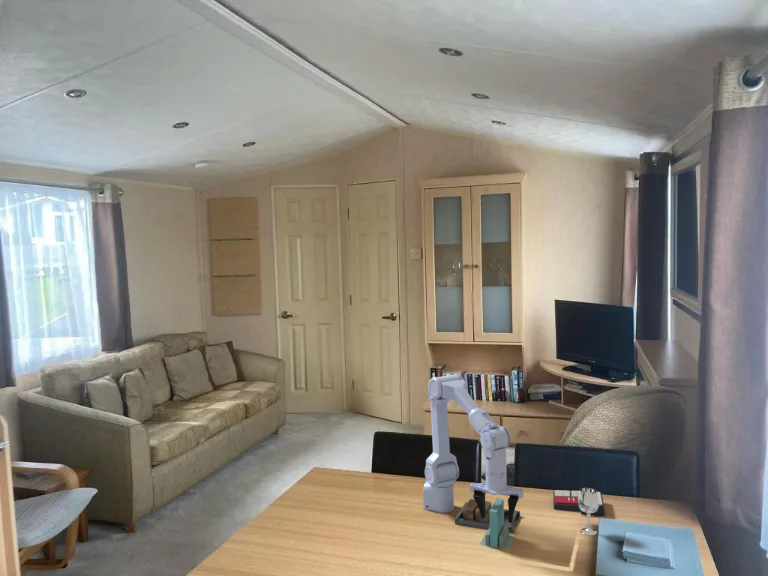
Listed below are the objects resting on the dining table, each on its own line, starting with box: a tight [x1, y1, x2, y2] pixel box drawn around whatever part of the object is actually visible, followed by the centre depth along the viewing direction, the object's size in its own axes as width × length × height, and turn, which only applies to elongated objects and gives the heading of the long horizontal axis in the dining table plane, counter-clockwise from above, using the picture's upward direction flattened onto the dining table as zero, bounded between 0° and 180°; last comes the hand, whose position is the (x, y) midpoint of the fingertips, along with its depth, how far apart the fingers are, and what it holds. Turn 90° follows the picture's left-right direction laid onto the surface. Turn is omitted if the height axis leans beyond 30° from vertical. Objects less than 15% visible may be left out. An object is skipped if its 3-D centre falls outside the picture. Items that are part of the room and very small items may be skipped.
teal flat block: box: [489, 498, 505, 549], centre depth 167 cm, size 2×9×10 cm, turn 157°
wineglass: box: [578, 487, 599, 536], centre depth 173 cm, size 6×6×12 cm
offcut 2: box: [475, 500, 493, 522], centre depth 181 cm, size 3×8×4 cm, turn 157°
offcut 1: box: [463, 498, 478, 520], centre depth 183 cm, size 3×8×4 cm, turn 157°
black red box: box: [552, 489, 606, 517], centre depth 190 cm, size 11×4×15 cm
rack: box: [454, 501, 521, 534], centre depth 181 cm, size 17×12×3 cm
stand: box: [479, 525, 515, 550], centre depth 167 cm, size 8×8×4 cm
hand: (496, 519), depth 167 cm, fingers open, 7 cm apart
